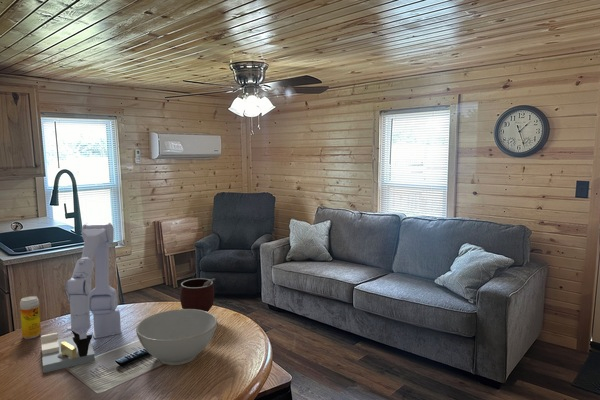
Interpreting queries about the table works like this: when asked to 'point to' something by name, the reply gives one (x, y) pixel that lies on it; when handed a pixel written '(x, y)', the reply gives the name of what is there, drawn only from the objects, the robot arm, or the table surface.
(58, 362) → the grey flat rectangular board
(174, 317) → the decorative bowl
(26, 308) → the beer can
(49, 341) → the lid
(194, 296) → the mate gourd
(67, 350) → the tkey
